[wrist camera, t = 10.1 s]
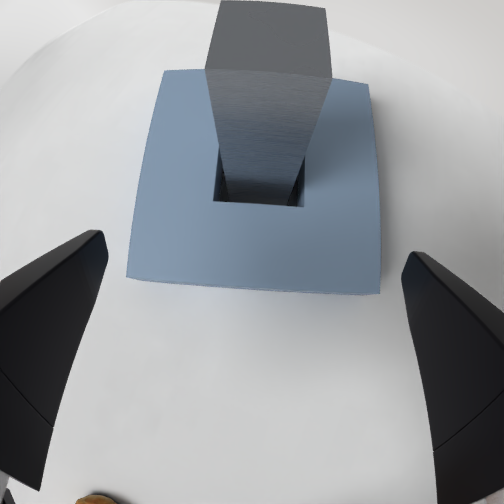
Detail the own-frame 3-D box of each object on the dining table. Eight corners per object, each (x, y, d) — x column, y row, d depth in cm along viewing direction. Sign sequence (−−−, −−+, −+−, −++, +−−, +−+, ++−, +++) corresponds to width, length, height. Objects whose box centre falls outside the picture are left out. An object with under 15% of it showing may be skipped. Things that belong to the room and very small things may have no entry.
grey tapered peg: (285, 208, 21) (332, 79, 8) (230, 204, 21) (204, 69, 8) (287, 159, 21) (325, 8, 8) (235, 155, 21) (221, 0, 8)
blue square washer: (362, 295, 20) (379, 293, 17) (143, 280, 20) (126, 277, 17) (356, 106, 22) (368, 84, 19) (172, 94, 22) (164, 70, 19)
